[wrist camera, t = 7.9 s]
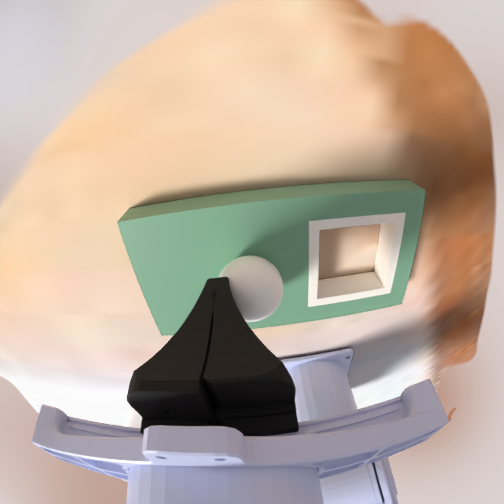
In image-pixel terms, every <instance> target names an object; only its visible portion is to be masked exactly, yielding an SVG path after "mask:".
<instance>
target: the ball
mask: <svg viewBox="0 0 504 504" xmlns="http://www.w3.org/2000/svg"><path fill="white" fill-rule="evenodd" d="M219 277H228V278H229V285H230V290H231V293H232V296H233V298H234V300H235V303H236V305H237V307H238V309H239V311H240V312H241V314H242V316H243V318H244V319H245V321H246V322H255V321H260V320H263V319H265V318H267V317H268V316H270V315H271V314H272V313H273V312H274V311H275V310H276V309H277V308H278V306H279V304H280V302H281V300H282V296H283V281H282V278H281V275H280V273H279V271H278V270H277V268H276V267H275V266H274V265H273V264H272V263H271V262H269V261H268V260H266V259H264V258H262V257H258V256H251V255H249V256H242V257H239V258H236V259H234V260H232V261H231V262H229V263H228V264H227V265H226V266H225V267H224V269H223V270H222V271H221V273H220V275H219Z"/></svg>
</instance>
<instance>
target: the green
mask: <svg viewBox="0 0 504 504" xmlns="http://www.w3.org/2000/svg"><path fill="white" fill-rule="evenodd" d="M425 194H426V190H425V189H423V188H422V187H420V186H418V185H417V184H415V183H414V182H412V181H410V180H382V181H357V182H338V183H322V184H309V185H297V186H285V187H275V188H265V189H256V190H247V191H239V192H231V193H223V194H215V195H208V196H201V197H194V198H187V199H181V200H175V201H169V202H163V203H157V204H151V205H145V206H140V207H135V208H129V209H128V210H127V211H126V213H125V214H124V215H123V216H122V217H121V218H120V220H119V221H118V222H117V223H118V226H119V230H120V233H121V236H122V239H123V242H124V244H125V247H126V250H127V253H128V256H129V259H130V261H131V264H132V267H133V269H134V272H135V275H136V277H137V280H138V282H139V285H140V287H141V290H142V292H143V295H144V297H145V299H146V302H147V304H148V307H149V309H150V311H151V313H152V316H153V318H154V320H155V322H156V325H157V327H158V329H159V331H160V333H161V335H162V336H163V335H174V334H175V333H176V332H177V331H178V329H179V328H180V327H181V325H182V324H183V323H184V321H185V320H186V318H187V317H188V315H189V313H190V312H191V310H192V309H193V307H194V305H195V303H196V301H197V300H198V298H199V296H200V294H201V292H202V290H203V288H204V285H205V283H206V281H207V280H208V279H209V278H218V277H219V275H220V273H221V271H222V270H223V269H224V267H225V266H226V265H227V264H228V263H229V262H231V261H232V260H234V259H236V258H239V257H242V256H249V255H251V256H258V257H262V258H264V259H266V260H268V261H269V262H271V263H272V264H273V265H274V266H275V267H276V268H277V270H278V271H279V273H280V275H281V278H282V281H283V296H282V300H281V302H280V304H279V306H278V308H277V309H276V310H275V311H274V312H273V313H272V314H271V315H270V316H268V317H267V318H265V319H263V320H260V321H255V322H246V323H247V324H248V325H249V327H250V328H251V329H256V328H264V327H273V326H280V325H288V324H295V323H302V322H309V321H315V320H322V319H328V318H334V317H340V316H345V315H351V314H356V313H361V312H366V311H371V310H376V309H381V308H386V307H390V306H395V305H399V304H402V301H403V298H404V294H405V291H406V287H407V284H408V280H409V276H410V272H411V268H412V264H413V260H414V256H415V251H416V247H417V242H418V237H419V232H420V226H421V221H422V215H423V208H424V202H425ZM374 224H381V225H380V234H379V241H378V248H377V255H376V261H375V267H374V272H367V273H361V274H354V275H348V276H341V277H334V278H327V279H320V280H318V268H319V232H320V230H324V229H334V228H344V227H353V226H363V225H374Z"/></svg>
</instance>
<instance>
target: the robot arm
mask: <svg viewBox="0 0 504 504" xmlns="http://www.w3.org/2000/svg"><path fill="white" fill-rule="evenodd" d="M353 354H354V352H353V349H351V348H348V349H343V350H338V351H333V352H328V353H322V354H316V355H310V356H304V357H297V358H291V359H283V360H279V359H278V358H277V357H276V356H275V355H274V354H273V353H272V352H271V351H270V350H269V349H268V348H267V347H266V346H265V345H264V344H263V343H262V342H261V341H260V340H259V338H258V337H257V336H256V335H255V334H254V332H253V331H252V330H251V328H250V327H249V325H248V324H247V323H246V321H245V319H244V318H243V316H242V314H241V312H240V311H239V309H238V307H237V305H236V303H235V300H234V298H233V296H232V293H231V290H230V285H229V278H228V277H218V278H209V279H208V280H207V281H206V283H205V285H204V288H203V290H202V292H201V294H200V296H199V298H198V300H197V301H196V303H195V305H194V307H193V309H192V310H191V312H190V313H189V315H188V317H187V318H186V320H185V321H184V323H183V324H182V325H181V327H180V328H179V329H178V331H177V332H176V333H175V334H174V336H173V337H172V338H171V339H170V340H169V341H168V343H167V344H166V345H165V346H164V347H163V348H162V349H161V350H160V351H159V352H157V353H156V354H155V355H154V356H153V357H152V358H151V359H150V360H148V361H147V362H146V363H144V364H143V365H142V366H140V367H139V368H138V369H136V370H135V371H134V372H133V375H132V378H131V381H130V385H129V390H128V395H127V401H128V403H129V404H130V405H131V407H132V408H133V409H134V410H135V411H136V412H137V413H138V414H139V415H140V416H141V417H142V422H141V428H134V427H125V426H117V425H110V424H104V423H98V422H93V421H87V420H82V419H78V418H73V417H69V416H67V415H66V414H65V413H64V412H63V411H61V410H60V409H58V408H55V407H51V406H47V405H42V407H41V410H40V413H39V417H38V420H37V424H36V427H35V431H34V435H33V439H32V443H33V444H35V445H36V446H38V447H39V448H41V449H43V450H44V451H46V452H48V453H49V454H51V455H53V456H54V457H56V458H58V459H60V460H62V461H65V462H68V463H71V464H74V465H77V466H80V467H83V468H86V469H89V470H92V471H96V472H99V473H102V474H106V475H110V476H113V477H117V478H121V479H125V480H128V489H127V504H398V501H397V497H396V495H397V490H396V486H395V482H394V478H393V475H392V472H391V468H390V464H389V461H388V457H389V456H392V455H394V454H397V453H399V452H401V451H404V450H406V449H408V448H411V447H413V446H415V445H417V444H420V443H422V442H424V441H426V440H427V439H428V438H429V437H431V436H432V435H433V434H435V433H436V432H437V431H438V430H440V429H441V428H442V427H443V426H444V425H446V424H447V423H448V421H449V420H448V418H447V415H446V413H445V411H444V408H443V406H442V404H441V402H440V399H439V397H438V395H437V393H436V391H435V389H434V387H433V385H432V382H431V380H430V379H427V380H425V381H422V382H419V383H417V384H414V385H412V386H409V387H408V388H406V389H405V390H404V391H403V392H402V394H401V396H400V397H397V398H394V399H391V400H388V401H385V402H382V403H378V404H375V405H372V406H368V407H365V408H361V409H358V410H357V406H356V403H355V400H354V397H353V394H352V391H351V387H350V384H349V381H348V378H347V375H348V371H349V368H350V364H351V361H352V357H353Z"/></svg>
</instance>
